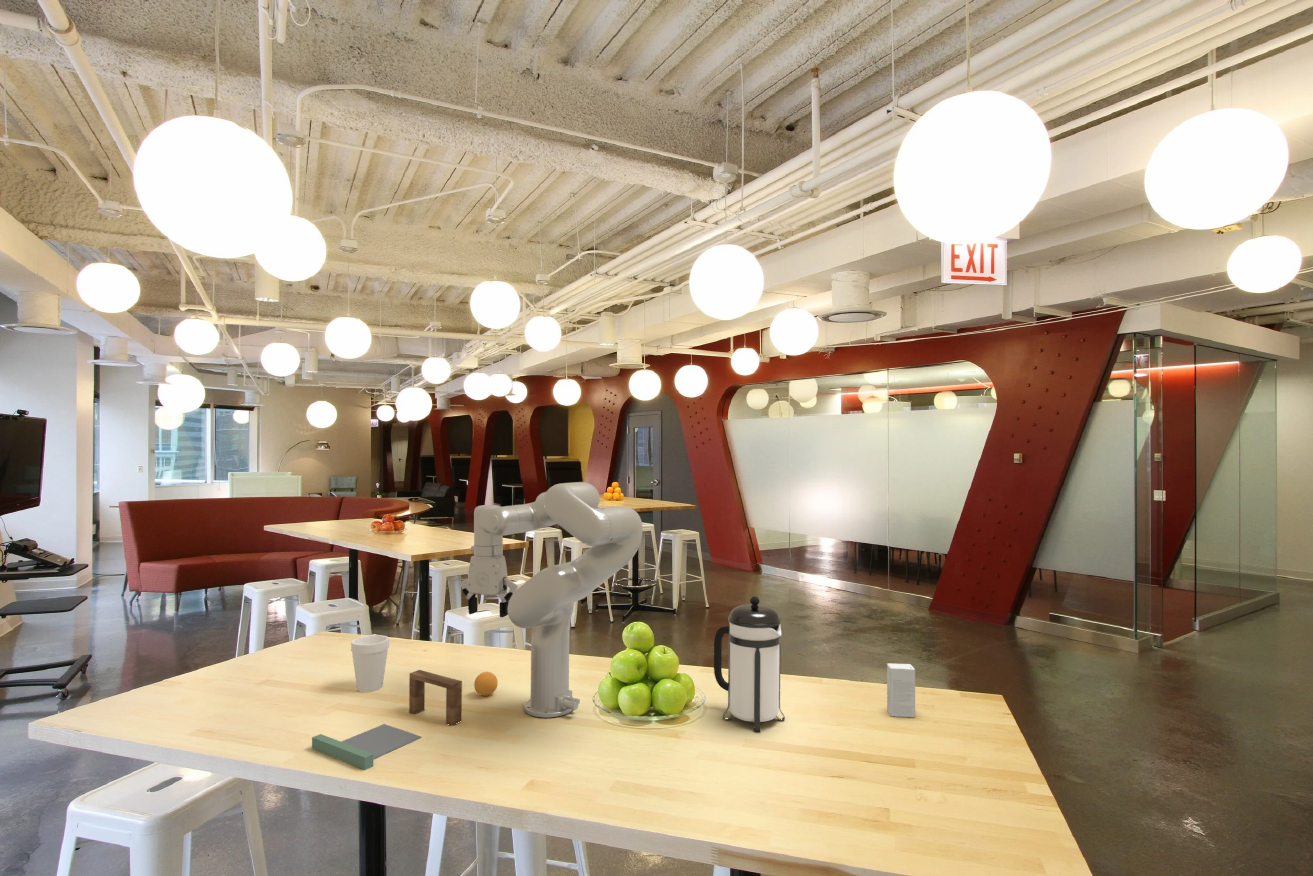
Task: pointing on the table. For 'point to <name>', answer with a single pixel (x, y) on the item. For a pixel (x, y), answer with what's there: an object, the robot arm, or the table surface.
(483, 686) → the ball
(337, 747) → the stopper wall
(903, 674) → the skincare box
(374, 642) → the foam cup
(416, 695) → the bridge
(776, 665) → the coffee press
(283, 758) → the table surface
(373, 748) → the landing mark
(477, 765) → the table surface
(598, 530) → the robot arm
